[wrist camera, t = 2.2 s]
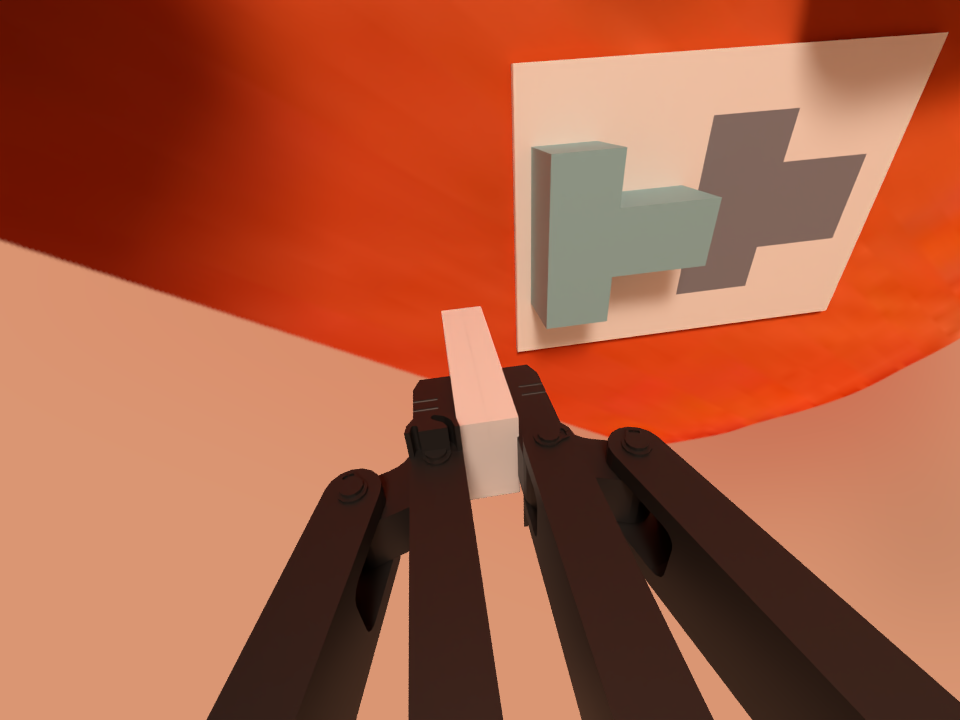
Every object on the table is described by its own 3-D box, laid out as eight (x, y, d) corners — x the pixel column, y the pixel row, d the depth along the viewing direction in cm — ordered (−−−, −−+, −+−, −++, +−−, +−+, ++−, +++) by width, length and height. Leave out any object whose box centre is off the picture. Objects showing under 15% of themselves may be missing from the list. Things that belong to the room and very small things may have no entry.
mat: (510, 64, 22) (512, 63, 21) (939, 33, 24) (948, 32, 24) (516, 348, 32) (518, 352, 31) (820, 307, 34) (826, 310, 34)
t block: (531, 146, 24) (551, 154, 20) (692, 132, 25) (736, 137, 21) (530, 303, 29) (546, 329, 26) (662, 286, 30) (694, 309, 27)
